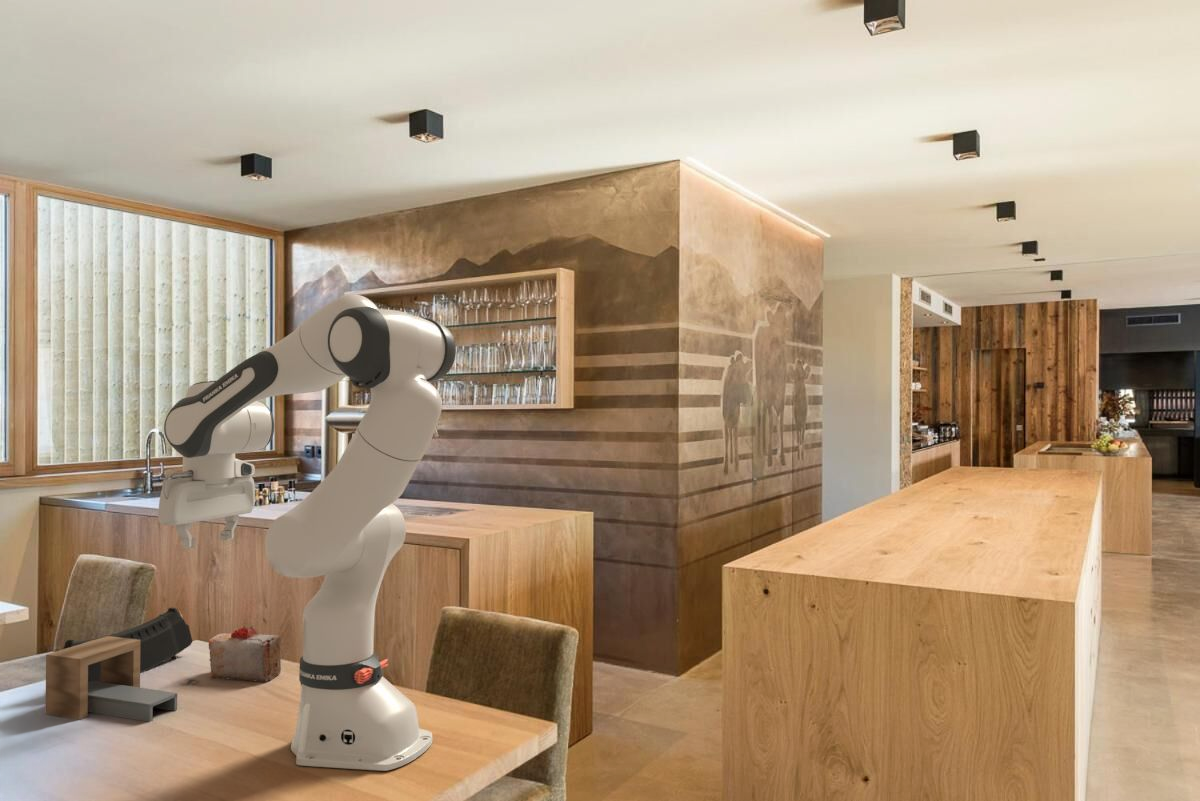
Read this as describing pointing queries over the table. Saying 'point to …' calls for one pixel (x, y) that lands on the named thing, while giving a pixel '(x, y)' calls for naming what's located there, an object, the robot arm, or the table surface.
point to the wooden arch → (72, 672)
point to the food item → (245, 655)
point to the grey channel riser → (128, 700)
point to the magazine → (150, 641)
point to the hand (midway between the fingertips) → (208, 543)
